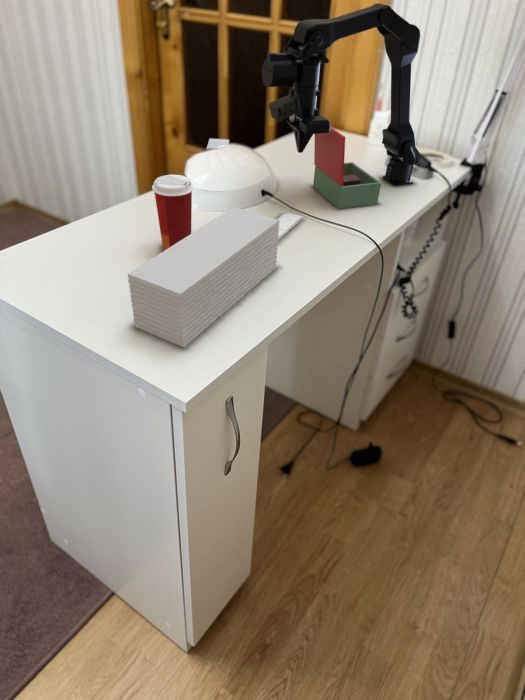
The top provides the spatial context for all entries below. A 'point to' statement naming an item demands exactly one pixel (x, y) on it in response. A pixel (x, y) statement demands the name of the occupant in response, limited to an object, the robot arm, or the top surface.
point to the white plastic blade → (287, 223)
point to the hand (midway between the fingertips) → (300, 152)
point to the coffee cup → (173, 207)
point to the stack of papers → (203, 275)
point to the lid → (330, 154)
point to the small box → (216, 143)
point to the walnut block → (351, 180)
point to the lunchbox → (348, 188)
